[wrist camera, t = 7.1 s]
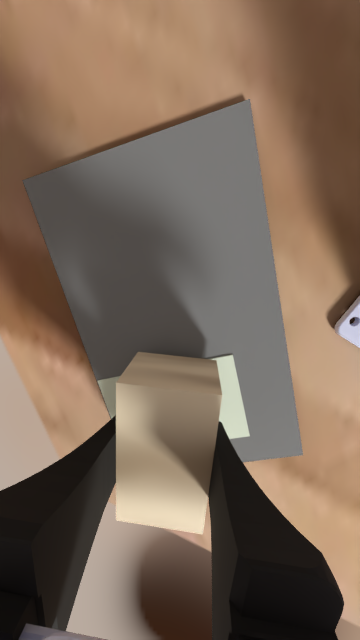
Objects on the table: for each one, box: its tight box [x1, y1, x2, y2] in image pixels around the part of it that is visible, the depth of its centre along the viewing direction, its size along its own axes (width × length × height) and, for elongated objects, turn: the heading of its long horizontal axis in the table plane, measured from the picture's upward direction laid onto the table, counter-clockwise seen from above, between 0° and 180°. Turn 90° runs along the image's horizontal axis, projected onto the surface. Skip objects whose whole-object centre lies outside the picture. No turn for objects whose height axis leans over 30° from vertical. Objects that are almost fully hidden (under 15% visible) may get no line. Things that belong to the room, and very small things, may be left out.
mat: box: [23, 99, 303, 462], centre depth 13 cm, size 20×12×1 cm, turn 14°
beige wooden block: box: [116, 352, 222, 534], centre depth 12 cm, size 8×4×3 cm, turn 176°
